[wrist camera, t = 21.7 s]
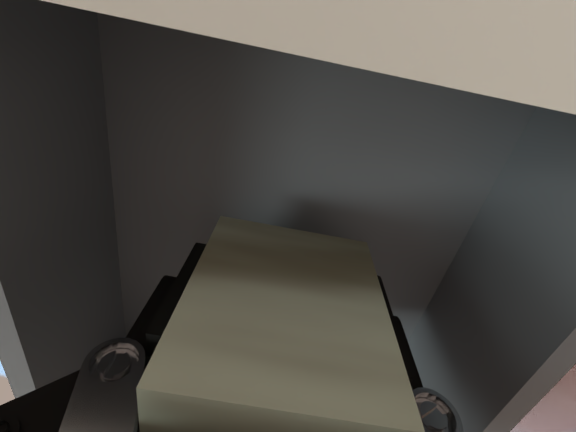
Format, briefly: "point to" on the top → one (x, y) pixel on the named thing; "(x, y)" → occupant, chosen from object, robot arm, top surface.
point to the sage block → (278, 341)
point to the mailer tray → (277, 196)
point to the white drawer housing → (396, 38)
